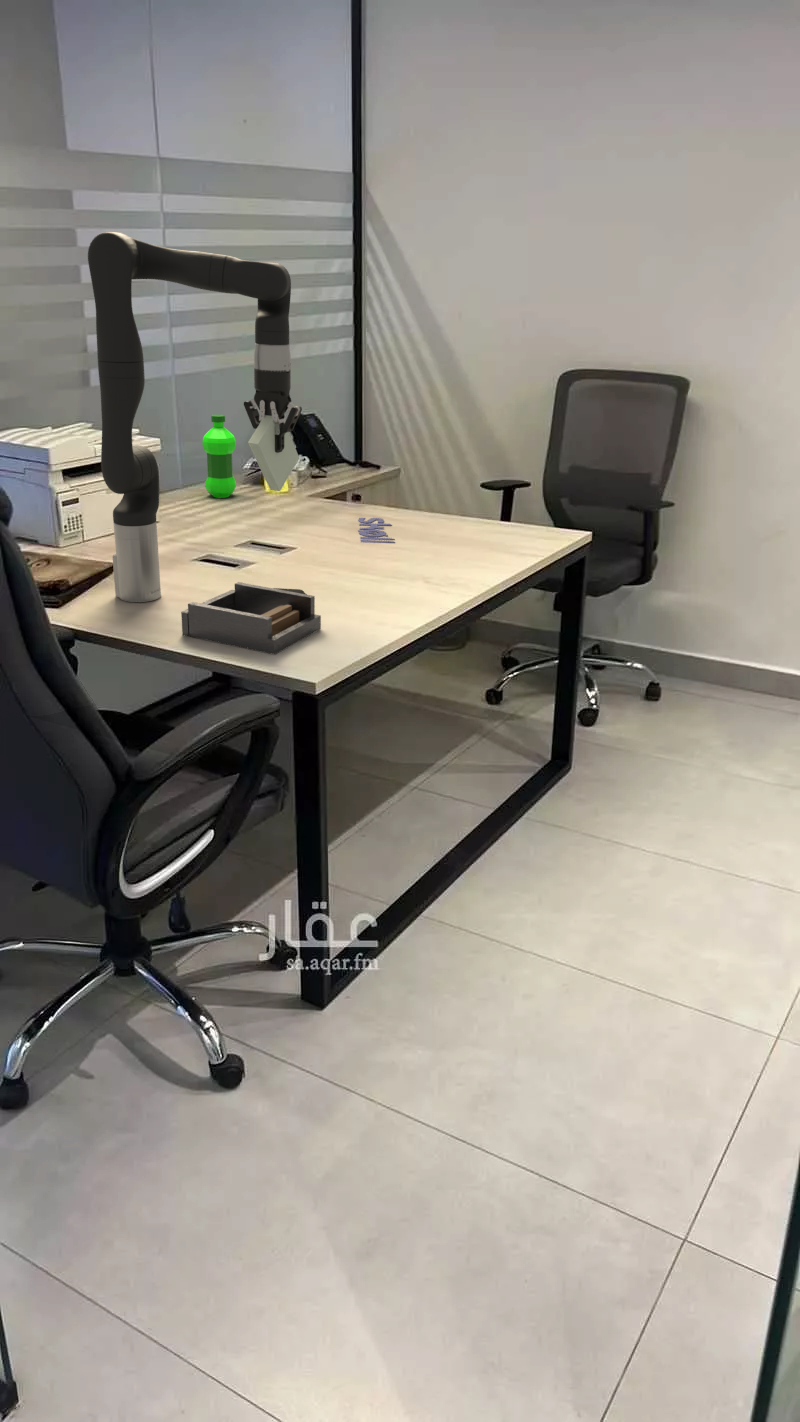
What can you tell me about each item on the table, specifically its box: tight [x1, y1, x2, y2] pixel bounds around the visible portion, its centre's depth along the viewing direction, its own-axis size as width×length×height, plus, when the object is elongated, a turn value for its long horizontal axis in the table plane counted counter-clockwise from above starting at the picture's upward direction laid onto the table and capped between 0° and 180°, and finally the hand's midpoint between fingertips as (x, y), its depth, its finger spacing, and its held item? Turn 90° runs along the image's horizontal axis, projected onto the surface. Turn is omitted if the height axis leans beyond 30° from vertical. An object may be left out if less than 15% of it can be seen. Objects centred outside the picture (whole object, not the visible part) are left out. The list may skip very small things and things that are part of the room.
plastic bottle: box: [202, 414, 237, 499], centre depth 335 cm, size 10×10×25 cm
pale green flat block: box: [247, 415, 300, 492], centre depth 229 cm, size 2×10×14 cm
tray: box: [180, 581, 322, 656], centre depth 221 cm, size 22×18×7 cm
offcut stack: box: [262, 605, 299, 636], centre depth 219 cm, size 4×12×6 cm, turn 154°
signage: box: [357, 517, 396, 544], centre depth 305 cm, size 28×1×10 cm
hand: (272, 450), depth 229 cm, fingers closed on pale green flat block, 2 cm apart
